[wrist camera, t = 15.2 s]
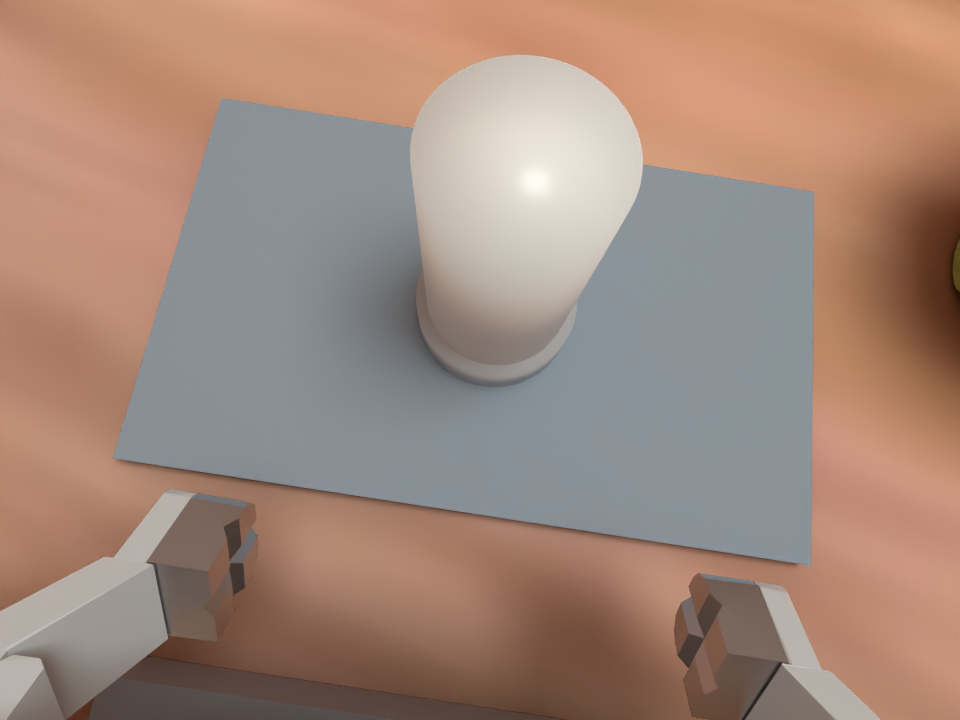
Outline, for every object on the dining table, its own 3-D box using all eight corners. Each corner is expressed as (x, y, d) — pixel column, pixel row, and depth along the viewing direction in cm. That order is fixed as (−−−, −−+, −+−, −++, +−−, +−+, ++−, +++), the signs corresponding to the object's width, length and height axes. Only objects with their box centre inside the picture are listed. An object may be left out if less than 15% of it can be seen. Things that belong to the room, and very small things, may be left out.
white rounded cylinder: (575, 257, 19) (668, 62, 11) (558, 397, 18) (649, 298, 10) (432, 235, 19) (417, 22, 11) (406, 374, 18) (368, 255, 10)
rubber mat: (803, 200, 21) (813, 191, 20) (799, 563, 18) (810, 565, 17) (228, 109, 20) (221, 97, 20) (123, 460, 17) (112, 458, 17)
